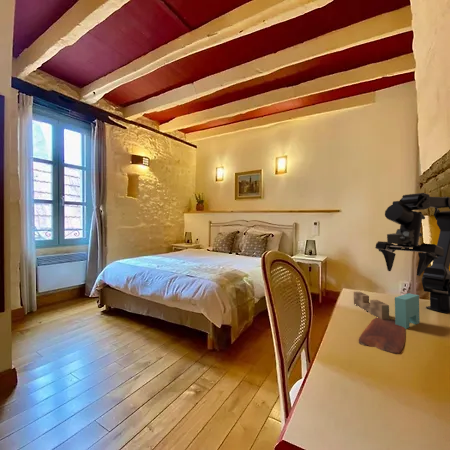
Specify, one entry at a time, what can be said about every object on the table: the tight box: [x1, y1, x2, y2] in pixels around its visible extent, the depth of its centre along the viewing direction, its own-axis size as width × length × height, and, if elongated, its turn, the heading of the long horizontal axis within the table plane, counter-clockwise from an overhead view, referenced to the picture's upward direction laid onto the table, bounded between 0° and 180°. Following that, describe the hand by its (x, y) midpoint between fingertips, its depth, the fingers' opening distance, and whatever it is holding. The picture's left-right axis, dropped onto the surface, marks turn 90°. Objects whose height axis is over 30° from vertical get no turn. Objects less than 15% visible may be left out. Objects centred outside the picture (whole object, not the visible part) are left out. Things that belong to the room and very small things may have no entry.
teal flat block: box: [394, 292, 421, 330], centre depth 81 cm, size 9×3×9 cm, turn 121°
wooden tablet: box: [358, 317, 407, 355], centre depth 75 cm, size 27×10×2 cm, turn 140°
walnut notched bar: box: [353, 291, 390, 319], centre depth 93 cm, size 18×2×5 cm, turn 1°
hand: (402, 273), depth 84 cm, fingers open, 9 cm apart
